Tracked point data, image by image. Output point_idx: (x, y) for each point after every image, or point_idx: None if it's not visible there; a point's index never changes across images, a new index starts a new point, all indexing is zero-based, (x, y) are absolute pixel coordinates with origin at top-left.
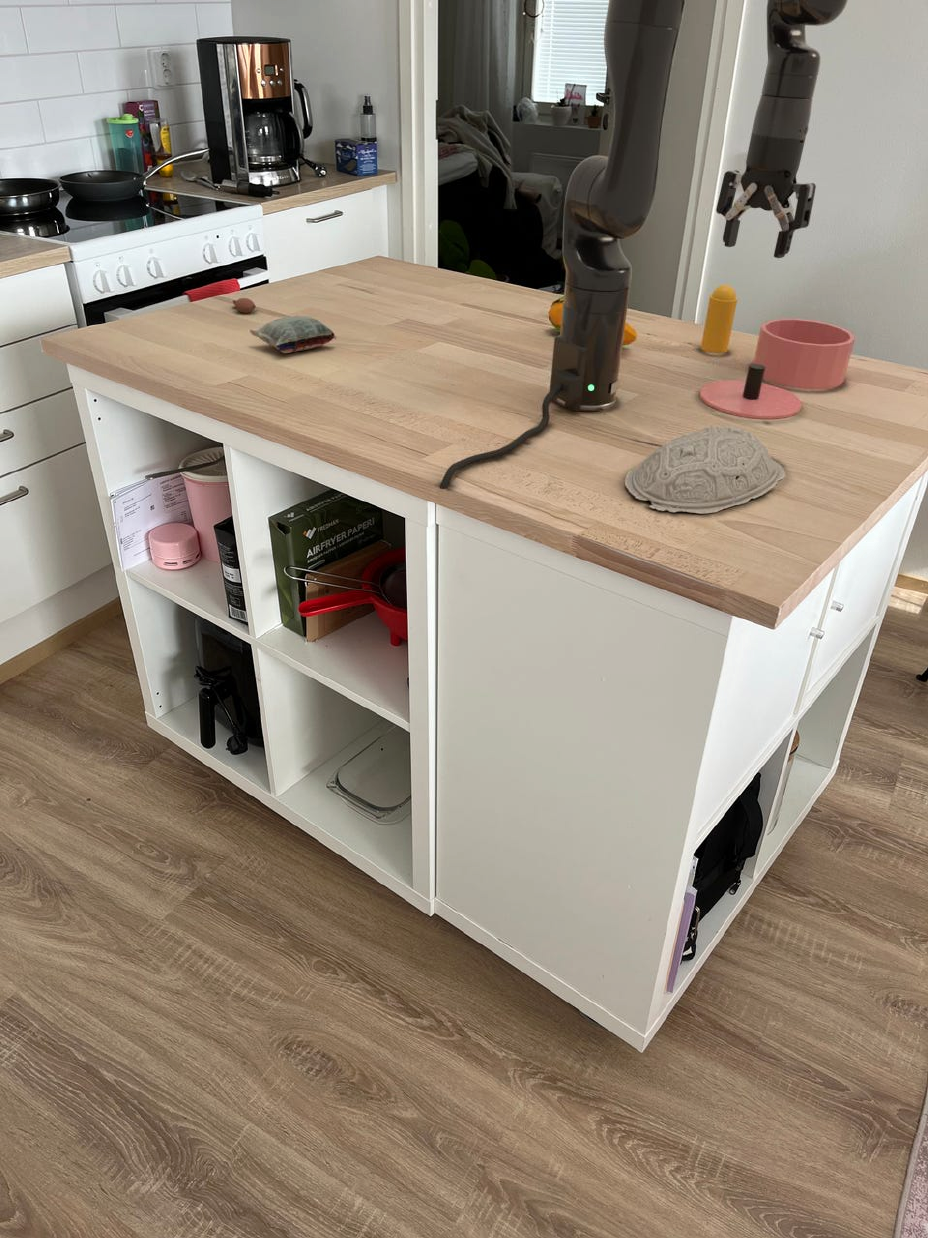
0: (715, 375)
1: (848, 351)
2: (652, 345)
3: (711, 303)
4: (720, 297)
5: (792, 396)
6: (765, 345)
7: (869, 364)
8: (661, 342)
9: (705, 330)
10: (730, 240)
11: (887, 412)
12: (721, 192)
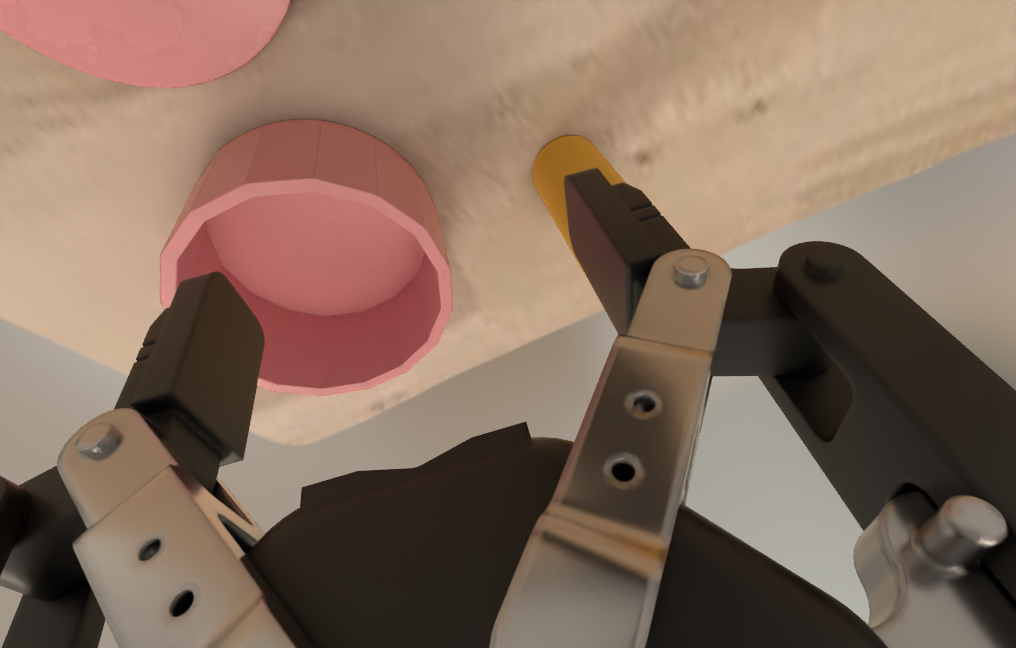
0: (413, 18)
1: None
2: (703, 42)
3: None
4: None
5: (88, 57)
6: (333, 164)
7: (351, 405)
8: (699, 91)
9: (602, 161)
10: (576, 204)
11: (7, 259)
12: (974, 376)
